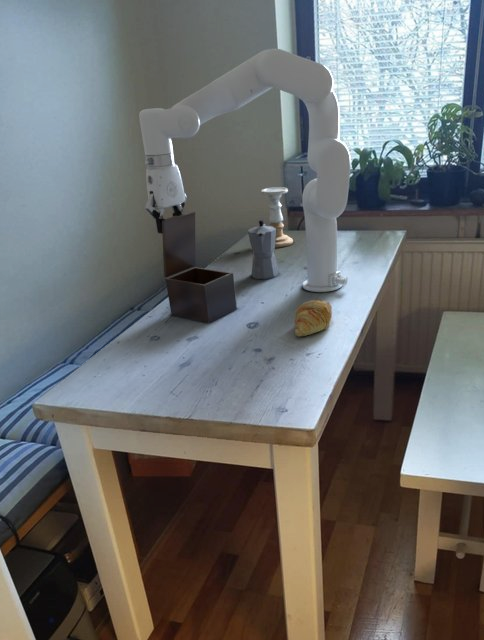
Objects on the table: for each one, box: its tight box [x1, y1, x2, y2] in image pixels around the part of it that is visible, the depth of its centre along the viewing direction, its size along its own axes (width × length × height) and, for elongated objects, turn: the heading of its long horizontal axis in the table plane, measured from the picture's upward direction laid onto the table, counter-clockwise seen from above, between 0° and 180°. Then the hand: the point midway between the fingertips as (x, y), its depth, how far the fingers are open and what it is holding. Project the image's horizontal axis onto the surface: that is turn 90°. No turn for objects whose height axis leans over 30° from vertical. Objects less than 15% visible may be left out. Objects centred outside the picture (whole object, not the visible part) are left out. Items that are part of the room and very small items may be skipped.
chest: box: [165, 266, 238, 324], centre depth 177 cm, size 15×13×11 cm
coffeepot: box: [247, 219, 279, 280], centre depth 203 cm, size 15×9×18 cm, turn 176°
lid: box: [161, 211, 197, 278], centre depth 173 cm, size 16×13×5 cm
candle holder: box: [260, 186, 294, 248], centre depth 236 cm, size 12×12×20 cm
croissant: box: [294, 299, 333, 337], centre depth 163 cm, size 21×10×8 cm, turn 156°
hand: (170, 229), depth 172 cm, fingers closed on lid, 6 cm apart
